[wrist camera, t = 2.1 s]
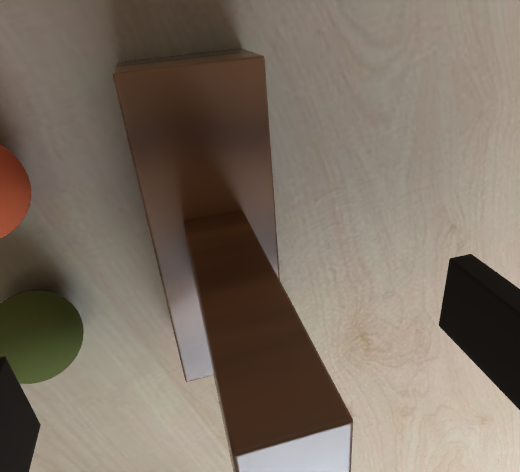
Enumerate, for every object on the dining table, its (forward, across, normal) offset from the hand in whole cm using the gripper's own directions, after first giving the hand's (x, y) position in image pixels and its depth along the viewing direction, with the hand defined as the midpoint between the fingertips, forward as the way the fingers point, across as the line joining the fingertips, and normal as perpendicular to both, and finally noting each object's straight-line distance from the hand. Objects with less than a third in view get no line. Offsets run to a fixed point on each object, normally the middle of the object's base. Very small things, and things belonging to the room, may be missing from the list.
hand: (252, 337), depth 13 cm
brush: (+9, 0, 0) cm, 9 cm away
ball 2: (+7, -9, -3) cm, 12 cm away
